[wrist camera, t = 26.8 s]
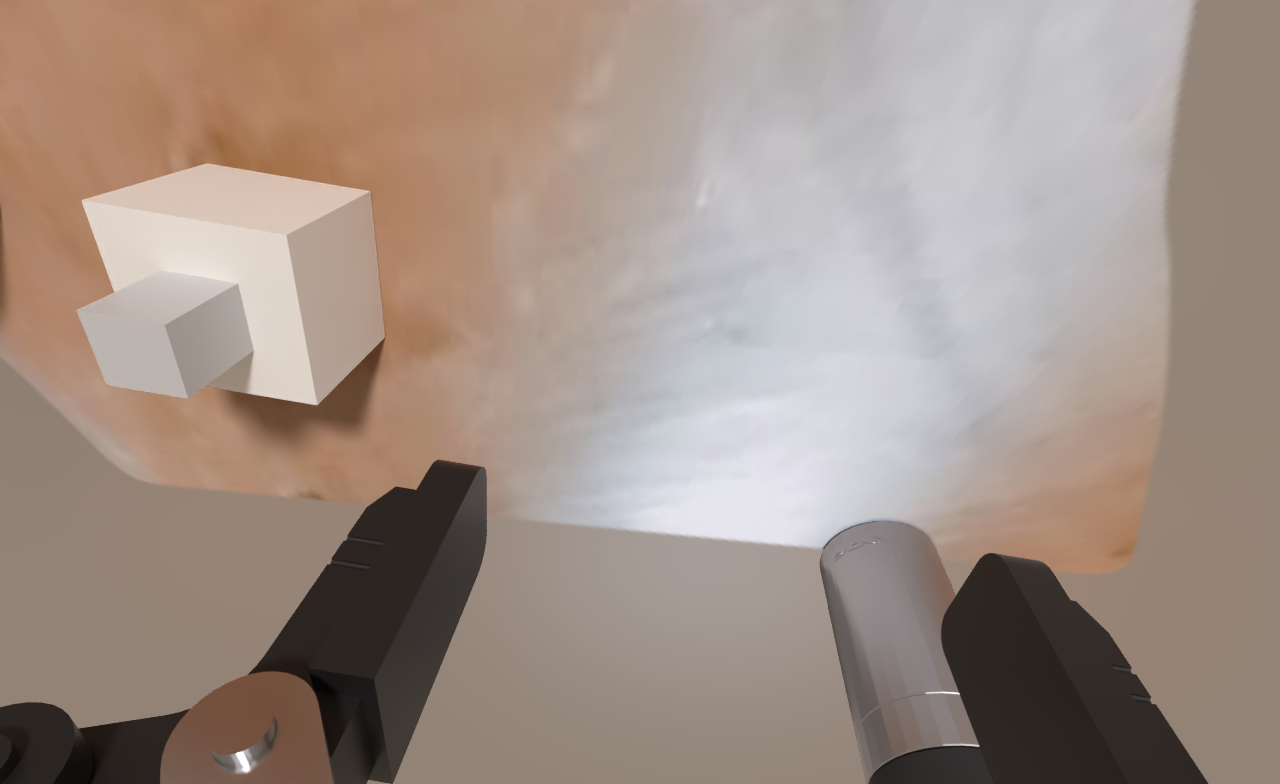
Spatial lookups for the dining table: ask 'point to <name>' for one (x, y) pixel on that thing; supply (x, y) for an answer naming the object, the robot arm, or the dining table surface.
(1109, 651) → the robot arm
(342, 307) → the white block with stub
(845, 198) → the dining table surface
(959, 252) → the dining table surface
